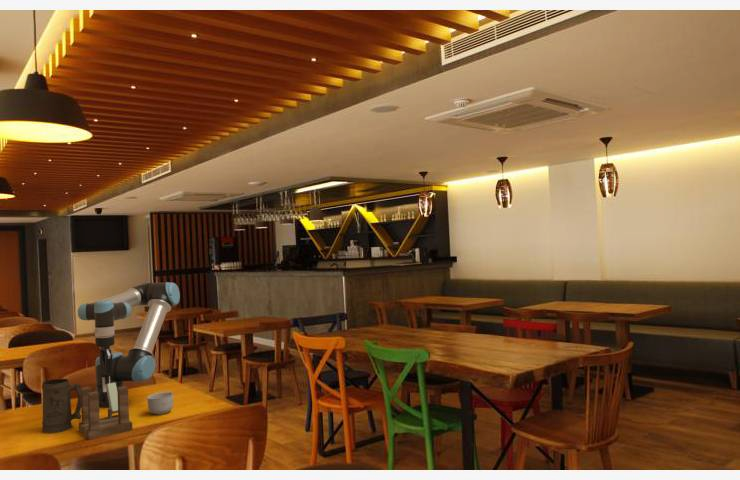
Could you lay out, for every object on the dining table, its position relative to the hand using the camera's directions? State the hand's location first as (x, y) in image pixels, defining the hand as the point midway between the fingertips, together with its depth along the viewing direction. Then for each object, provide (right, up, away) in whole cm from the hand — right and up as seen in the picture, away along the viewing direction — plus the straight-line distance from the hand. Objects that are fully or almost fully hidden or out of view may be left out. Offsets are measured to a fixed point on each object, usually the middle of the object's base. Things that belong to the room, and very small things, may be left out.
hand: (106, 391), depth 248 cm
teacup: (+22, -11, +6) cm, 25 cm away
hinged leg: (+8, -6, -9) cm, 14 cm away
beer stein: (-12, -12, -12) cm, 21 cm away
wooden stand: (+7, -11, -17) cm, 22 cm away
